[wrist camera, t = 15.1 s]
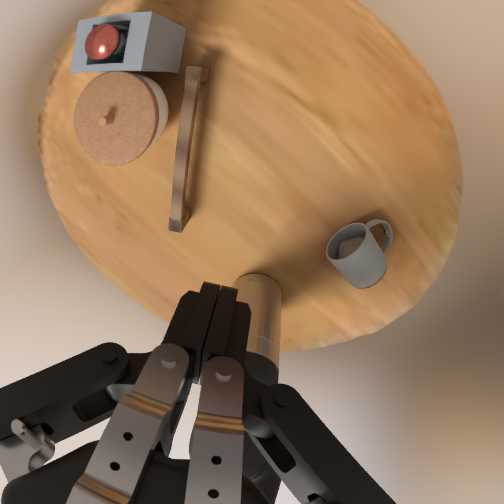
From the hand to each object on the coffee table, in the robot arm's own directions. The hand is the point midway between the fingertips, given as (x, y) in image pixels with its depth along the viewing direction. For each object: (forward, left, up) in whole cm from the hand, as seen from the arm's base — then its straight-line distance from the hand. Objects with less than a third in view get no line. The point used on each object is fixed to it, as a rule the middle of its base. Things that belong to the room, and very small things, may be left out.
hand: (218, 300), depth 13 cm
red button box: (+13, +19, -32) cm, 39 cm away
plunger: (+12, +19, -24) cm, 33 cm away
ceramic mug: (-11, -18, -32) cm, 39 cm away
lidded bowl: (+3, +19, -32) cm, 38 cm away
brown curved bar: (-2, +10, -32) cm, 34 cm away
